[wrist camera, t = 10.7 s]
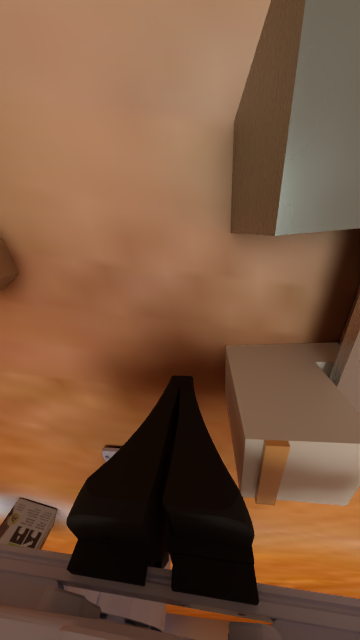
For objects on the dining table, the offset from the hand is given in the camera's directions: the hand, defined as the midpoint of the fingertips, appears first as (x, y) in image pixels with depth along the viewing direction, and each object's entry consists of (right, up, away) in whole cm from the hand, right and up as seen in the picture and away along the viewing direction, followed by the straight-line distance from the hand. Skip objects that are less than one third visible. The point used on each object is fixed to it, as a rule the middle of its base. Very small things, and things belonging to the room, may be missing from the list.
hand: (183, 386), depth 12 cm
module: (+6, +1, 0) cm, 6 cm away
